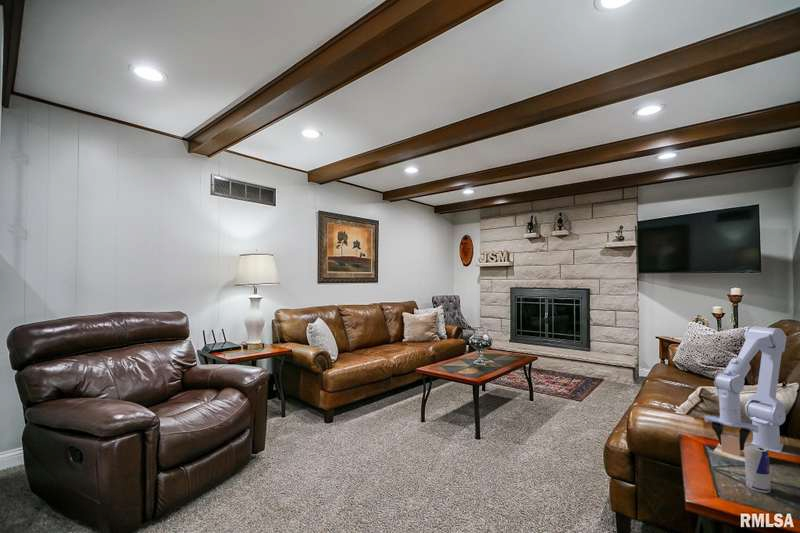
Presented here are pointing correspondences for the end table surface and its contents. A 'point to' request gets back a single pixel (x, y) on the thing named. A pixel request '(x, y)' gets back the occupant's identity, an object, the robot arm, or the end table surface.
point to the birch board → (719, 452)
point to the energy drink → (757, 468)
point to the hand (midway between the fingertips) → (731, 446)
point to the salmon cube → (730, 443)
